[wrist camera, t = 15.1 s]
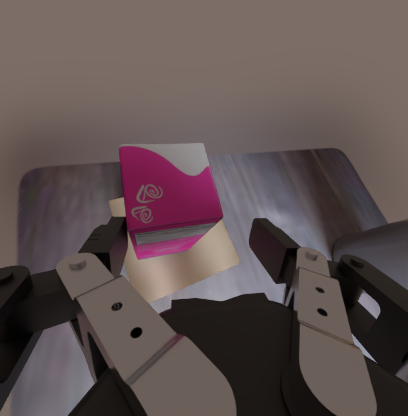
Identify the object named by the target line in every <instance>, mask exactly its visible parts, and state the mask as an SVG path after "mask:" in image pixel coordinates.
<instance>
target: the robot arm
mask: <svg viewBox="0 0 408 416" xmlns="http://www.w3.org/2000/svg"><path fill="white" fill-rule="evenodd" d="M249 245H250V248H251V249H252V251H253V252H254V254H255V255H256V257H257V258H258V259H259V261H260V262H261V264H262V265H263V266H264V268H265V269H266V271H267V272H268V274H269V275H270V276H271V278H272V279H273V281H274V282H275V283H276V284H282V283H285V284H286V286H285V289H284V295H283V302H282V304H281V303H278V302H274V301H270V300H268V298H267V297H266V295H265V293H254V294H243V295H240V296H237V297H234V298H231V299H228V300H225V301H214V300H207V299H199V298H190V299H178V300H172V303H171V309H168V310H165V311H163V312H161V313H159V314H158V313H157V312H156V311H155V310H154V309H153V308H152V307H151V306H150V304H149V303H148V302H147V301H146V300H145V299H144V298H143V297H142V296H141V295H140V294H139V292H138V291H137V290H136V289H135V288H134V287H133V286H132V285H131V284H130V283H129V282H128V280H127V279H126V278H125V277H124V276H122V275H120V272H121V269H122V266H123V263H124V259H125V256H126V253H127V249H128V231H127V222H126V217H114V216H112V217H111V219H110V221H109V222H108V224H107V225H100V226H99V227H97V228H96V229H94V230H93V232H92V233H91V236H89V238H88V240H87V241H86V242H85V243H84V245H83V246H82V248H81V249H80V251H79V252H78V254H74V255H71V256H68V257H66V258H65V259H63V260H62V261H60V262H59V263H58V265H57V267H56V269H54V270H51V271H47V272H42V273H37V274H33V275H30V272H29V269H28V268H27V267H25V266H10V267H4V268H1V269H0V411H1V409H2V407H3V405H4V403H5V401H6V400H7V398H8V396H9V394H10V392H11V390H12V388H13V386H14V385H15V383H16V381H17V379H18V377H19V375H20V373H21V371H22V370H23V368H24V366H25V364H26V362H27V360H28V358H29V356H30V354H31V353H32V351H33V349H34V347H35V345H36V343H37V341H38V339H39V338H40V336H41V334H42V332H43V330H44V329H47V328H50V327H53V326H56V325H59V324H62V323H65V322H68V321H69V324H70V326H71V328H72V330H73V332H74V334H75V337H76V339H77V341H78V343H79V345H80V347H81V349H82V352H83V354H84V356H85V359H86V361H87V364H88V367H89V370H90V373H91V376H92V378H93V380H94V383H95V384H94V385H93V386H92V388H91V389H90V390H89V391H88V392H87V393H86V395H85V396H84V397H83V398H82V399H81V401H80V402H79V403H78V404H77V405H76V407H75V408H74V409H73V410H72V411H71V412H70V414H69V415H68V416H408V219H404V220H400V221H397V222H393V223H390V224H386V225H383V226H379V227H376V228H372V229H369V230H365V231H362V232H358V233H355V234H351V235H348V236H345V237H342V238H340V239H338V241H337V242H336V243H335V246H334V249H333V259H334V261H329V260H327V259H326V257H325V256H324V255H323V254H322V253H320V252H319V251H316V250H314V249H311V248H307V247H300V246H299V245H298V244H297V243H296V242H295V241H294V240H292V239H291V238H290V237H289V236H288V235H287V234H286V233H284V232H283V231H282V230H281V229H279V228H278V227H276V226H274V225H273V224H272V223H271V222H270V221H269V220H268V219H266V218H255V219H254V220H253V223H252V228H251V232H250V237H249ZM362 292H363V293H367V294H368V295H370V296H371V297H372V298H373V299H374V300H375V301H376V302H377V303H378V304H379V306H380V310H381V312H380V315H379V316H378V318H377V319H376V318H375V317H374V316H372V315H371V314H370V313H369V312H368V311H367V310H366V309H365V308H364V307H363V306H362V305H361V304H360V303H359V302H358V300H359V298H360V296H361V294H362ZM351 333H352V334H353V335H354V336H355V337H356V339H357V340H358V341H359V342H360V343H361V344H362V346H363V347H364V348H365V349H366V350H367V352H368V353H369V354H370V355H371V356H372V357H373V359H374V360H375V361H376V362H377V363H378V364H377V363H376V362H374V361H373V360H371V359H370V358H368V357H366V356H365V355H363V353H362V351H361V349H360V348H359V347H357V346H356V345H355V344H354V342H353V338H352V334H351Z"/></svg>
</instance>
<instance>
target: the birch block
mask: <svg viewBox="0 0 408 416" xmlns="http://www.w3.org/2000/svg"><path fill="white" fill-rule="evenodd" d="M109 204H110V208H111V212H112V216H114V217H126V213H125V204H124V197H122V198H118V199H114V200H110V201H109ZM124 262H125V266H126V270H127V274H128V277H129V281H130V284H131V285H132V286H133V287H134V288H135V289H136V290H137V291H138V292H139V294H140V295H141V296H142V297H143V298H144V299H145V300H146V301H147V302H148V303H150V302H152V301H155V300H157V299H159V298H162V297H164V296H166V295H169V294H171V293H173V292H175V291H178V290H180V289H182V288H185V287H187V286H189V285H191V284H194V283H196V282H198V281H201V280H203V279H205V278H207V277H210V276H212V275H214V274H217V273H219V272H221V271H223V270H226V269H228V268H230V267H233V266H235V265H237V264H240V263H241V262H240V260H239V258H238V255H237V253H236V251H235V249H234V246H233V244H232V242H231V240H230V237H229V235H228V233H227V230H226V228H225V226H224V224H223V221H222V219H221V220H220V221H219V222H218V223H217V224H216V225H215V226H214V227H212V228H211V229H210V230H209V231H208V232H207V233H206V234H205V235H204V236H203V237H202V238H201V239H200V240H198V241H197V242H196V243H195V244H194V245H193V246H192V247H191V248H190V249H189V250H187V251H183V252H178V253H173V254H167V255H162V256H157V257H151V258H146V259H141V260H138V259H137V257H136V254H135V251H134V248H133V245H132V242H131V239H130V236H129V233H128V249H127V253H126V256H125V259H124Z"/></svg>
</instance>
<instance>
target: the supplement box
mask: <svg viewBox="0 0 408 416" xmlns="http://www.w3.org/2000/svg"><path fill="white" fill-rule="evenodd" d="M119 156H120V167H121V177H122V186H123V195H124V204H125V213H126V222H127V231H128V233H129V236H130V239H131V242H132V245H133V248H134V251H135V254H136V257H137V259H138V260H141V259H146V258H151V257H157V256H162V255H167V254H173V253H178V252H183V251H187V250H189V249H190V248H191V247H192V246H193V245H194V244H195V243H196V242H197V241H198V240H200V239H201V238H202V237H203V236H204V235H205V234H206V233H207V232H208V231H209V230H210V229H211V228H212V227H214V226H215V225H216V224H217V223H218V222H219V221H220V220H221V219H222V218H223V212H222V208H221V205H220V201H219V197H218V194H217V190H216V186H215V182H214V179H213V176H212V172H211V168H210V165H209V162H208V158H207V155H206V151H205V148H204V144H203V143H188V144H187V143H186V144H120V145H119Z"/></svg>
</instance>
